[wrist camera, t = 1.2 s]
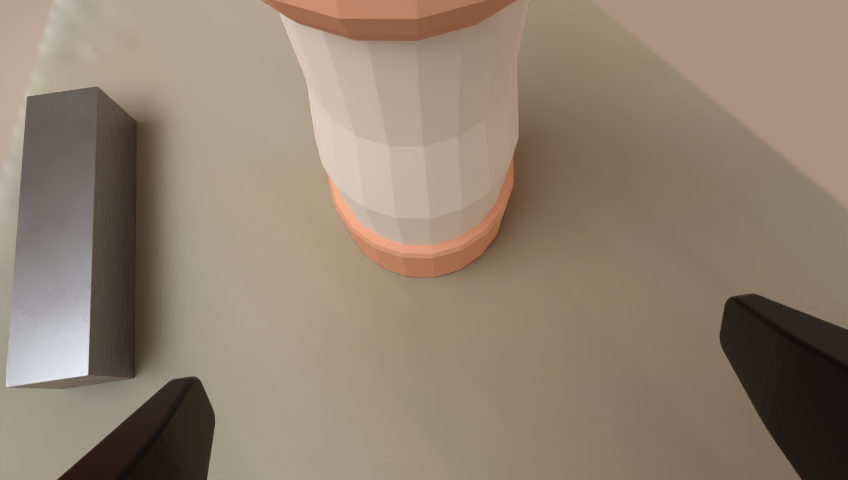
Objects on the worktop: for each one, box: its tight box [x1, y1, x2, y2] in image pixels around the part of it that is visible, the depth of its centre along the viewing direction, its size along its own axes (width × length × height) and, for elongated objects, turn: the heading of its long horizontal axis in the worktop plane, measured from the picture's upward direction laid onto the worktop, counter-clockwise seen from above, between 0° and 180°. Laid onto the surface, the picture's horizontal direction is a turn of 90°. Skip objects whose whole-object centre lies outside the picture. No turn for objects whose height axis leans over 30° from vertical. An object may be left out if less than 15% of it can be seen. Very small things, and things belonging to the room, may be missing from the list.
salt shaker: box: [262, 0, 530, 277], centre depth 15 cm, size 7×7×19 cm
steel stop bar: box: [5, 87, 136, 389], centre depth 23 cm, size 12×3×3 cm, turn 8°
